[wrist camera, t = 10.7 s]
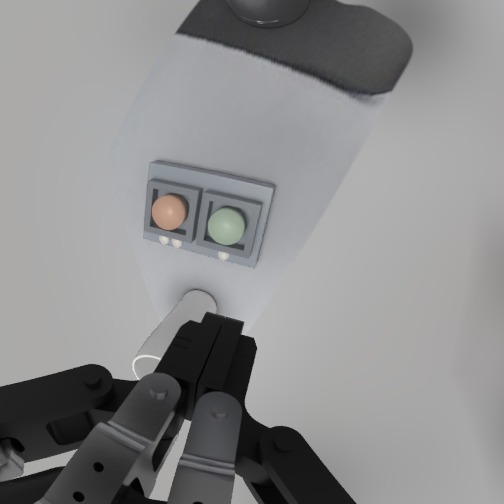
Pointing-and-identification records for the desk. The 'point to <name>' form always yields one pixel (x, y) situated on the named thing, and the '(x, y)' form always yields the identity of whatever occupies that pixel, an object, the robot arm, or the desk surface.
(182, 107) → the desk surface
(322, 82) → the desk surface
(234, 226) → the button one
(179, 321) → the drinking glass
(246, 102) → the desk surface
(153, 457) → the robot arm
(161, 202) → the button two
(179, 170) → the two-button control panel
